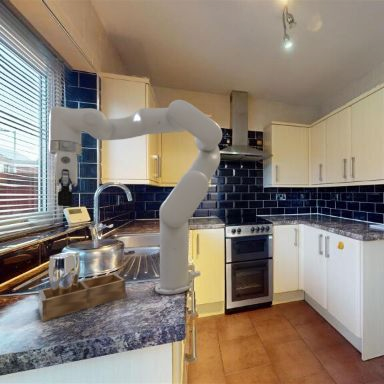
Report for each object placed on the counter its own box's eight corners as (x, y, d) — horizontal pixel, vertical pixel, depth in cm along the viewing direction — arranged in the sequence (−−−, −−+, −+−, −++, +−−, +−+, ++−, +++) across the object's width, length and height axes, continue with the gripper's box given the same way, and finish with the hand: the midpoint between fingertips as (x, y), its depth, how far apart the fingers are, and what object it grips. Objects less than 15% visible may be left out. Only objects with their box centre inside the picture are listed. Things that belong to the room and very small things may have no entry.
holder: (115, 288, 80) (115, 273, 81) (125, 296, 74) (125, 279, 74) (38, 309, 66) (38, 290, 66) (42, 321, 59) (42, 300, 59)
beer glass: (61, 314, 62) (62, 258, 63) (41, 311, 64) (41, 257, 64) (85, 302, 69) (85, 252, 69) (66, 300, 70) (67, 251, 71)
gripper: (82, 146, 66) (82, 205, 65) (79, 155, 79) (79, 204, 79) (47, 142, 61) (46, 206, 61) (50, 152, 74) (49, 205, 74)
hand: (65, 205), depth 70 cm, fingers open, 9 cm apart
